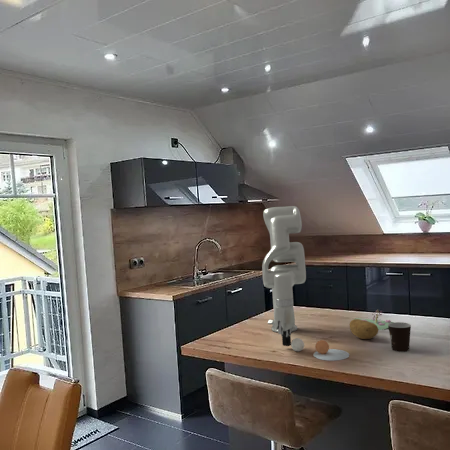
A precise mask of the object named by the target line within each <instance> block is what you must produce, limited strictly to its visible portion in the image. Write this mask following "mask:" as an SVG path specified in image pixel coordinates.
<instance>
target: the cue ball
mask: <svg viewBox="0 0 450 450" xmlns="http://www.w3.org/2000/svg"><path fill="white" fill-rule="evenodd" d="M290 347H291V349H292V350H293V351H295V352H301V351H303V349H304V348H305V342H304V340H303V339H301V338H299V337H295V338H293V339H291V345H290Z"/></svg>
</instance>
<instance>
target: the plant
mask: <svg viewBox="0 0 450 450" xmlns="http://www.w3.org/2000/svg"><path fill="white" fill-rule="evenodd" d="M371 314H372V316H373V317H372V319H369V318H359V317H358V318H357V317H356V318H354V319H360V320H365V321H368V322H371V323H374V324H375V325H376V326H377V327H378V331H383V329H384V330H386V329H389V328H388V324H389V323H394V322H393V321H392V320H391V319H385V320H381V319H379V317H381V316H382V315H383V311H379V312H378V310H375V313H374V312H372V313H371ZM354 319H352V320H354Z"/></svg>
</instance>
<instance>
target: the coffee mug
mask: <svg viewBox="0 0 450 450" xmlns="http://www.w3.org/2000/svg"><path fill="white" fill-rule="evenodd" d="M411 327H412V324H411V323H408V322H401V321H397V322H396V321H395V322H394V323H389V324H388V328H387V329H388V331H389V332H388V333H389V340H390V344H391V349H392V351H393V352H398V353H405V352H409V351H410V344H411V343H410V341H411Z"/></svg>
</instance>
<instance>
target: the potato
mask: <svg viewBox="0 0 450 450" xmlns="http://www.w3.org/2000/svg"><path fill="white" fill-rule="evenodd" d="M360 319H361V318H360ZM360 319H355V318H354V320H353V319H352V320H351V321H349V329H350V332H351V333H352V334H353V335H354V336H356V338H358V339H361V340H372V339H374V338H375V337H376V336H377V335H378V334H379V330H378V327H377V326H376V325H375V324H374V323H371V322H368V321H365V320H360Z"/></svg>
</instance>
